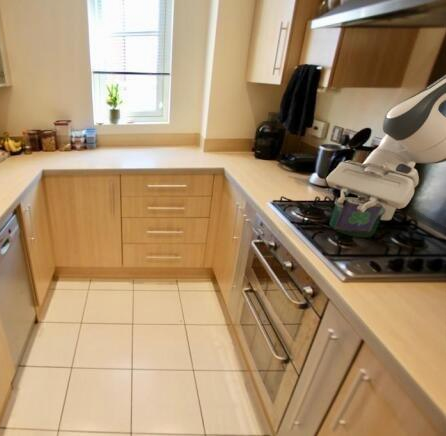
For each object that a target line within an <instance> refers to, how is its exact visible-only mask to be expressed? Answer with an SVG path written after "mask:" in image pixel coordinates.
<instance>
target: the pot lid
mask: <svg viewBox="0 0 446 436" xmlns="http://www.w3.org/2000/svg"><path fill="white" fill-rule="evenodd" d="M339 198H340V197H338V198H336V199H335V200H334V204H336V206H338V207H339V208H341V209H342V208H343V205H340V204H338V202H337V201H338V200H339ZM345 198H346V199H347V200H348V199H355V200H359V201H361V200H364V199H366V198H364V197H360V196H357V197H352V196H345ZM384 213H385V208H384V207H382V209H381V211H380V213H379V215H378V216H380V215H383V214H384Z"/></svg>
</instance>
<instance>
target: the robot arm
mask: <svg viewBox="0 0 446 436" xmlns="http://www.w3.org/2000/svg"><path fill="white" fill-rule="evenodd" d="M445 101H446V74H444V75H443V76H441V77H440V78H438V79H437V80H435V81H434V82H433V83H431V84H429V85H428V86H427V87H425V88H422V90H420V91H418V92H417V93H415V94H413V95H411V96H410V97H408V98H406V99H404V100H402V101H401V102H399V103H397V104H396V105H394V106H393V107H392V108H391V109H389V110H388V111H387V113H386V114H385V115H384V119H383V122H382V131H383V133H384V134H385V135H384V136H383V138H382V139H381V140H380V142H379V144H378V147H376V148H375V149H373V150H372V151H371V153H369V155H368V156H367V157H366V159H364V161H363V163H361V162H358V161H354V160H350V159H349V160H344V161H340V162H339V163H338V165H337V166H336V168H334V169H333V170H332V171H331V172H330V173H328V176H327V177H326V183H327V185H328V187H330V188H333V189H336V190H340V197H338V198H339V200H338V201H337V202H338V204H340V205H343V206H344V204H345V201H346V200H347V199H346V198H345V197H346V196H348V195H349V194H352V195H355V196H357V197H358V196H360V197H364V198H367V197H369V202H367V203H365V204H361V203H360V204H359V206H358V207H357V211H360V212H364V211H365V210H366V209H367V208H369V207H372V206H374V205H376V204H377V203H378V202H379V203H382V204H385V205H388V206H392V207H395V208H396V209H398V210H400V209H403V208H405V207H407V206H408V205H409V203H410V202H411V200H412V199H413V197H414V194H415V188H416V187H417V186H418V185H419V181H420V179H419V178H420V177H419V173H418V170H417V169H416V168H415V167H414V168H412V167H410V166H409V165H407V164H408V163H409V162H415V163H416V164H427V165H429V164H433V165H434V164H441V163H445V162H446V117H445V115H443V114H442V113H441V112H440V111H439V107H440V105H441V104H442V103H444V102H445Z"/></svg>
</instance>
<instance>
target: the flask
mask: <svg viewBox="0 0 446 436" xmlns="http://www.w3.org/2000/svg"><path fill="white" fill-rule="evenodd" d="M369 201H370V200H369V197H367V198H366V199H364V200H361V201H359V200H355V199H348V200H346V201H345V204H344V206H343V208H342V210H341V213H340V215H339V217H338V220H337V222H336V224H335V227H336V228H338V229H342V230H348V231H356V232H369V231H370V230H371V228H372V226H373V224H374V222H375V220H376V219H377V217H378V215H379V213H380V211H381V209H382V207H383V205H382V204H380V203H377V204H376V205H374V206H372V207H369V208H367V209H366V210H365V211H364V212H360V211H357V207H358V206H359V204H360V203H361V204H365V203H367V202H369Z"/></svg>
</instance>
